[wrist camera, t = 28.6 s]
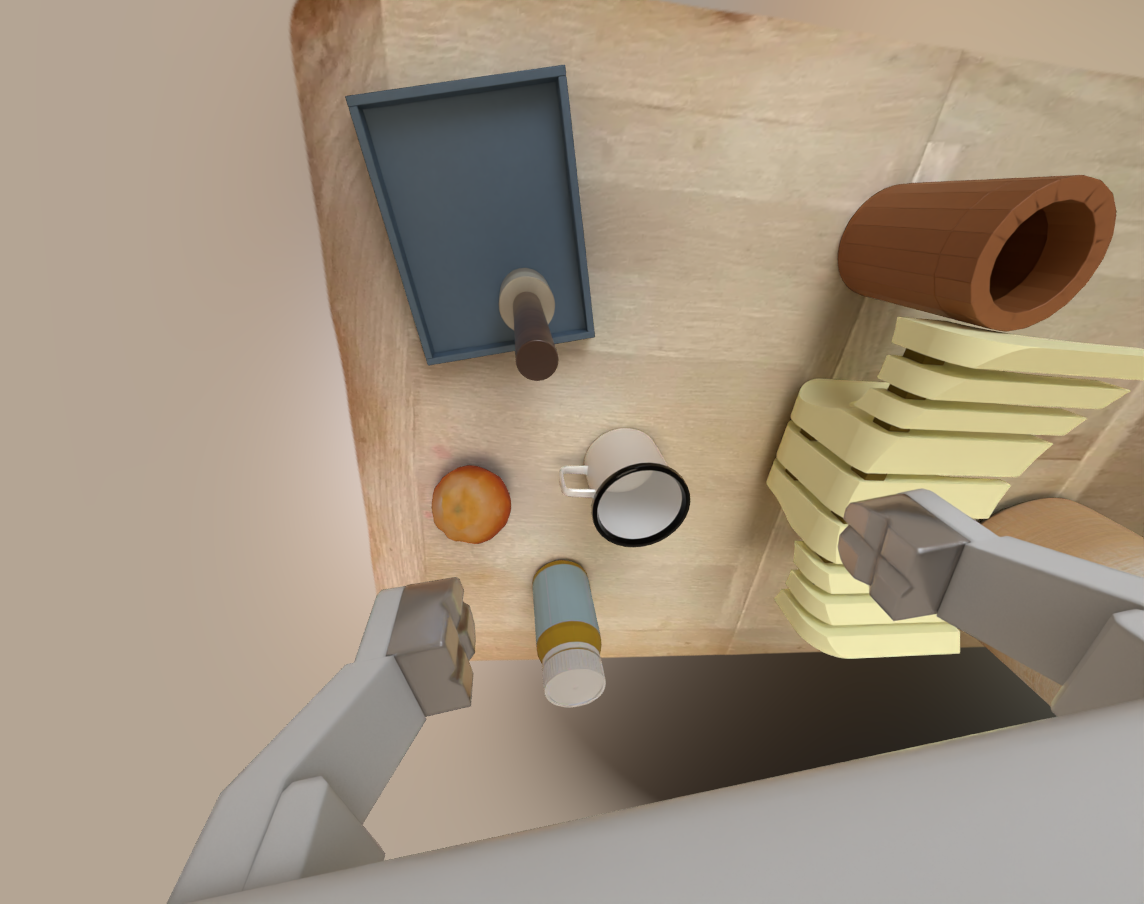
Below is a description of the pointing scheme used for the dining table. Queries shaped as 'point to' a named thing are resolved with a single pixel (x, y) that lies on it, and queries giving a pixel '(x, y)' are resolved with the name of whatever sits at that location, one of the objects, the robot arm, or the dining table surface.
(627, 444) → the mug
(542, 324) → the bottle brush
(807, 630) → the slatted curved stool
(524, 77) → the tray
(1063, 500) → the planter
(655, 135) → the dining table surface
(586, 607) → the bottle
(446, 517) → the fruit
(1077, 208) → the terracotta utensil crock
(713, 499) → the dining table surface
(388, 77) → the dining table surface
